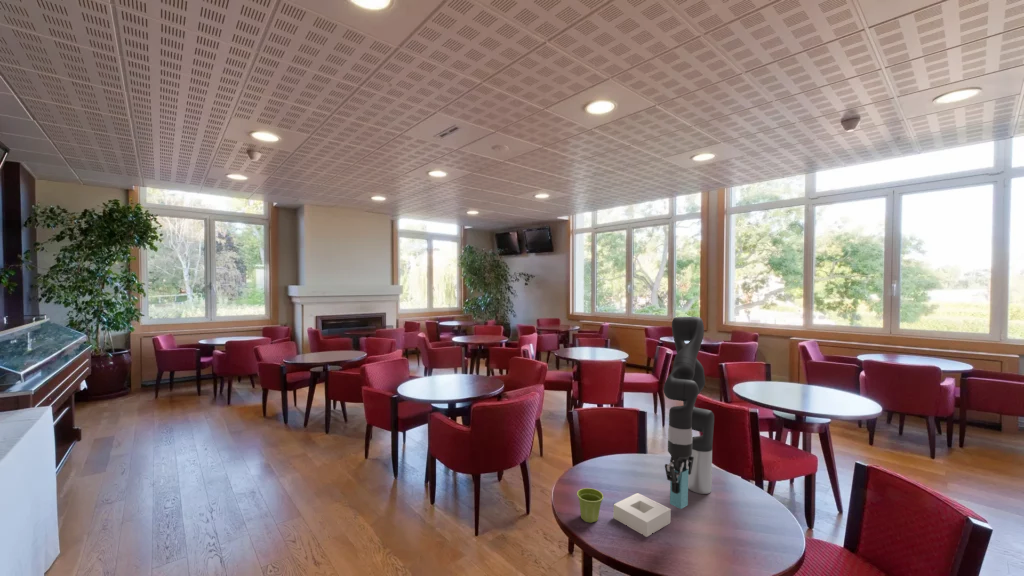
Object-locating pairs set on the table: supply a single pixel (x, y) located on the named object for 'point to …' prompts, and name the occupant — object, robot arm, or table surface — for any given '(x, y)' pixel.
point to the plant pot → (589, 504)
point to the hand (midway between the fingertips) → (679, 490)
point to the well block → (642, 514)
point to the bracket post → (680, 491)
